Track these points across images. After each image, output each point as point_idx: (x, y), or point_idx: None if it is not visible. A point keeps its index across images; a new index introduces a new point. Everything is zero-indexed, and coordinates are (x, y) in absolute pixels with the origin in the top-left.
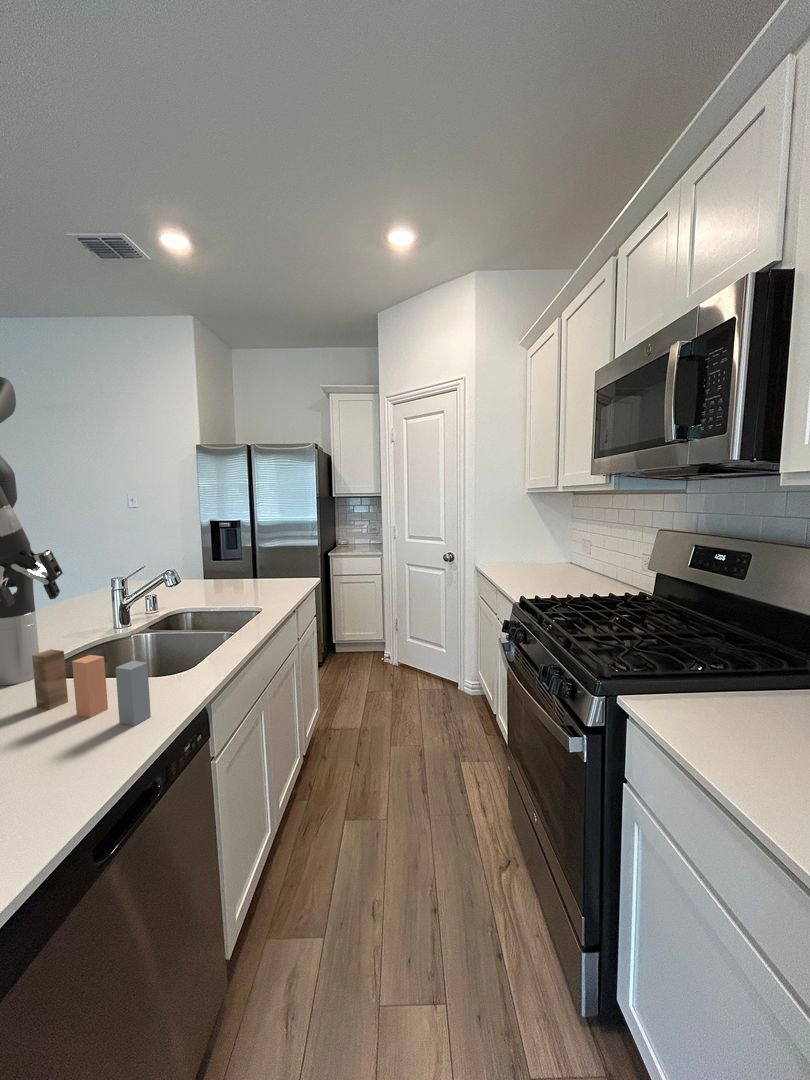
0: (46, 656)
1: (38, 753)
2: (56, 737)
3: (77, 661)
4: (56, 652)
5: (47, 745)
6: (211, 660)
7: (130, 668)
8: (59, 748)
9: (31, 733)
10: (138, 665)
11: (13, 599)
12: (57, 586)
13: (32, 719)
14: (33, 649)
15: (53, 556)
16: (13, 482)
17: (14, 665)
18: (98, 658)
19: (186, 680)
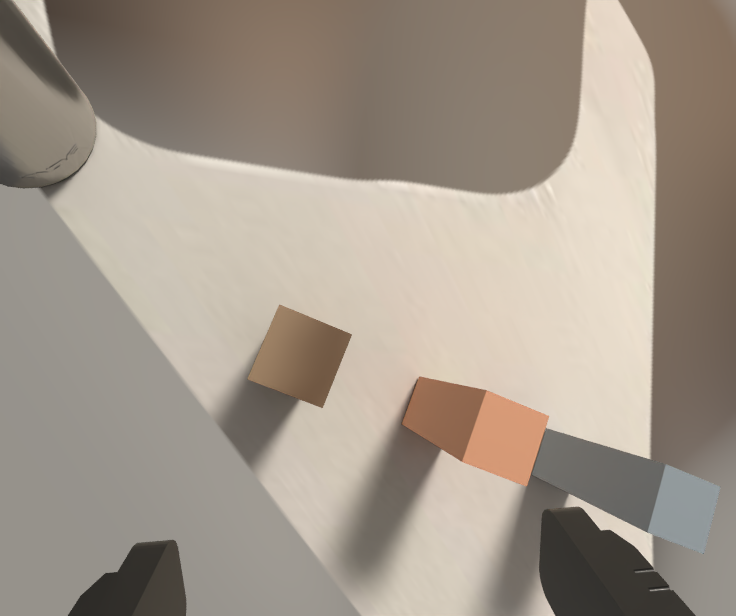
0: (322, 399)
1: (426, 607)
2: (420, 535)
3: (483, 465)
4: (332, 351)
5: (423, 572)
6: (584, 85)
7: (697, 541)
8: (459, 585)
9: (344, 514)
10: (706, 513)
11: (164, 571)
12: (671, 594)
13: (294, 437)
14: (44, 75)
15: None
16: None
17: (23, 152)
18: (540, 435)
19: (574, 226)
